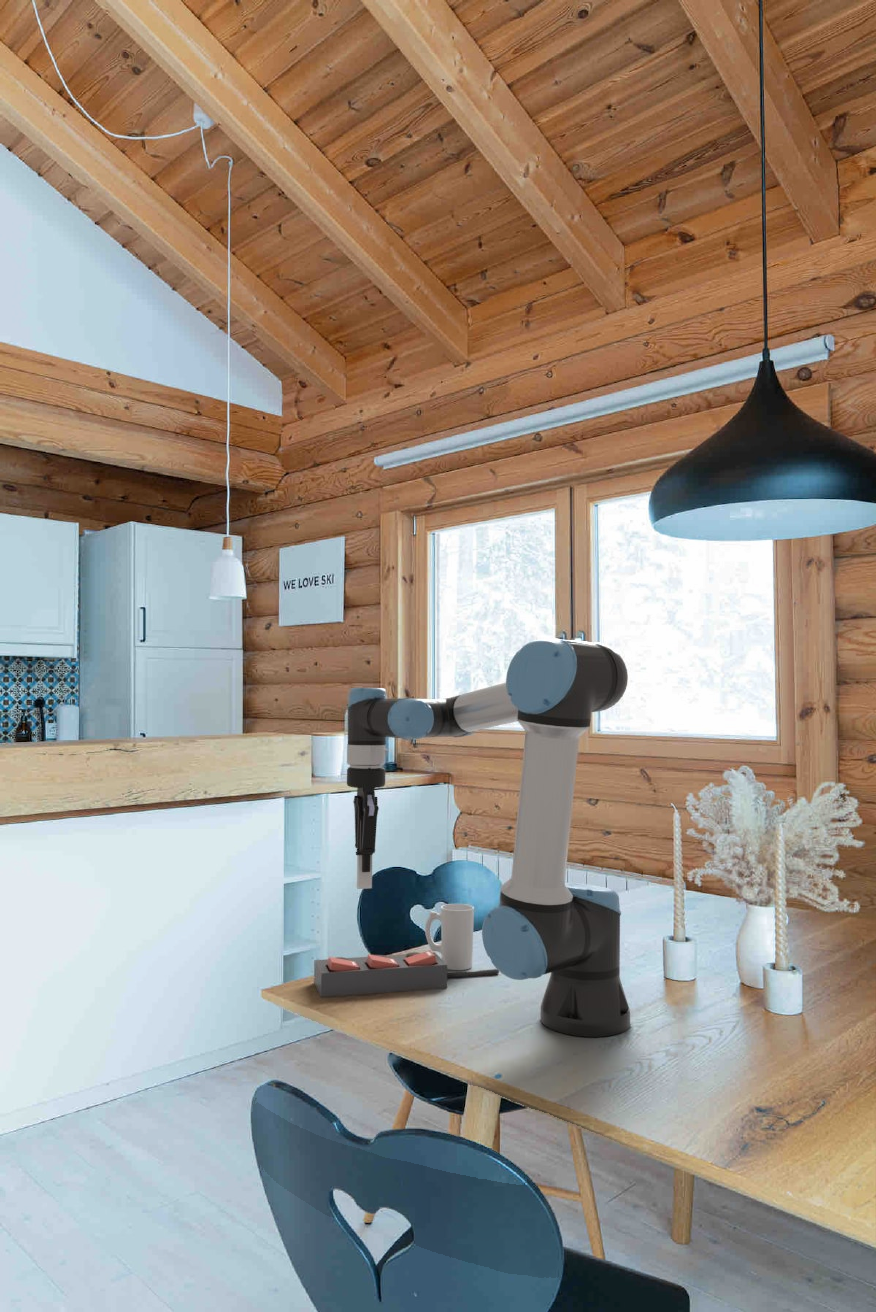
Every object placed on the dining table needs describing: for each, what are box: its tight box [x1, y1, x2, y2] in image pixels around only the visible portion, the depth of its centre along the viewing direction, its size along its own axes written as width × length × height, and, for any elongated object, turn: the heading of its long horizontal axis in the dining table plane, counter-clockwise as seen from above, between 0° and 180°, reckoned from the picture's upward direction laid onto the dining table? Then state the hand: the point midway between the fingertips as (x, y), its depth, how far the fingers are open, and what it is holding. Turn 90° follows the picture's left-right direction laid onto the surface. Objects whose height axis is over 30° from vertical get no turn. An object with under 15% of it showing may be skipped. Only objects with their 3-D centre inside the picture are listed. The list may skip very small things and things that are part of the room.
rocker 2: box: [366, 953, 398, 968], centre depth 180 cm, size 4×5×2 cm
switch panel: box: [313, 951, 500, 998], centre depth 183 cm, size 9×36×5 cm, turn 106°
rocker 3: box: [404, 949, 436, 966], centre depth 182 cm, size 4×5×2 cm
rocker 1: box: [327, 956, 359, 971], centre depth 178 cm, size 4×5×2 cm
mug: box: [424, 903, 475, 971], centre depth 195 cm, size 10×7×12 cm, turn 80°
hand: (364, 887), depth 185 cm, fingers closed
